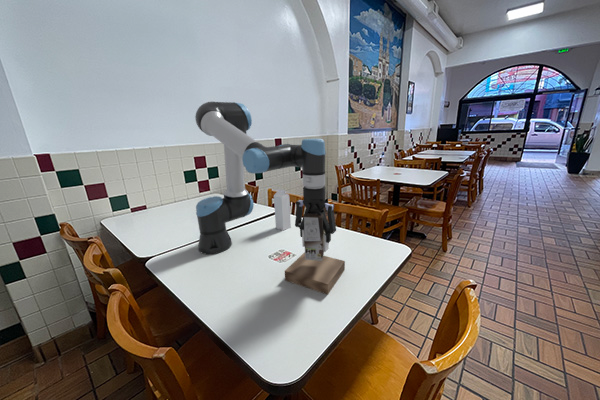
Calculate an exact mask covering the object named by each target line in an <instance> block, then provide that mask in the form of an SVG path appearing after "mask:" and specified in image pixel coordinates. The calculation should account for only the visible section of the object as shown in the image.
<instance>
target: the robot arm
mask: <svg viewBox="0 0 600 400" xmlns="http://www.w3.org/2000/svg"><path fill="white" fill-rule="evenodd" d="M194 118H195V122H196V125H197V127H198V129H199V130H200V131H201V132H203V133H204V134H205V135H207V136H208V137H214V139H216V140H217V141H219V142H220V143H221V144H223V153H224V167H225V170H224V171H225V184H226V185H225V186H226V189H225V191H224V192H223V198H222V197H221V196H215V195H214V196H209V197H206V198H203V199H201V200H200V201H198V202H197V203H196V206H195V209H196V210H195V211H196V212H195V214H196V217H197V218H196V219H197V223H198V230H199V239H198V244H197V248H198V252H200V253H201V252H202V253H201V254H204V253H206V254H205V255H215V254H219V253H222V252H225V251H227V250H228V249H230V248H231V247H232V245H233V242H232V237H231V236H230V233H229V232H228V230H227V226H226V223H229V222H232V221H235V220H239V219H242V218H245V217H247V216H248V215H250V214H251V213H252V212H253V210H254V200H253V196H252V194H250V193H249V191H248V190H247V189H246V185H245V184H246V182H245V170H246V172H248V173H249V174H263V173H266V172H270V171H275V170H281V169H286V168H291V167H293V168H295V167H296V168H301V171H302V186H303V188H302V194H303V195H302V196H303V200H302V199H299V200H297V201H296V202H295V205H296V210H295V211H296V212H295V223H294V226H295V228H299V232H300V233H299V234H300V236H299V237H301V238H302V242H301V243H302V247H303V248H305V239H304V216H305V214H308V213H315V214H317V215H322V214H323V228H324V231H325V233H324V234H323V251H324V253H326V252H327V251H328V250H329V249H330V248H329V243H330V242H331V240H332V235H333V234H335V233H336V232H337V225H336V219H335V212H334V211H335V210H334V209H335V204H334V203H331V204H330V203H327V201H326V154H327V152H326V145H325V144H326V143H325V140H324V139H322V138H304V139H302V140H301V144H290V143H285V144H280V145H275V146H274V145H273V146H265V145H263V144H262V143H260V142H258V141H257V140H255V139H254V138H253V137H251V136H250V135H248V134H247V132H248V130H250V129H251V127H252V124H253V123H252V121H253V120H252V115H251V112H250V110H249V109H248V107H247V106H246V105H245V104H243V103H241V102H234V101H233V102H227V101H225V102H224V101H207V102H204V103H202V104H201V105H200V106H199V107H198V108H197V110H196V112H195V116H194ZM304 207H305V210H304ZM325 208H326V209H325ZM324 209H325V211H324ZM303 210H304V212H303ZM326 211H327V213H326ZM303 213H304V215H303ZM326 214H327V215H326ZM214 253H215V254H214Z"/></svg>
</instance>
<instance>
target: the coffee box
mask: <svg viewBox="0 0 600 400" xmlns="http://www.w3.org/2000/svg"><path fill="white" fill-rule="evenodd" d="M324 211H325V212H326V209H325V208H324ZM304 214H305V213H304ZM303 216H304V215H303ZM324 233H325V231H324V228H323V214H322V215H317V214H315V213H308V214H305V216H304V239H305V247H304V252H305V259H306V260H317V261H322V260H323V256H325V252H324V251H323V234H324Z"/></svg>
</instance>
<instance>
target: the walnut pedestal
mask: <svg viewBox="0 0 600 400" xmlns="http://www.w3.org/2000/svg"><path fill="white" fill-rule="evenodd" d="M345 265H346V261H345V260H342V259H339V258H335V257H334V258H333V257H330V256H327V255H323V260H322V261H317V260H306V259H305V251H304V252H303V253H302V254H301V255H300V256H299V257H297V258H296V260H295V261H294V262H293V263H291V264H290V265H289V266H288V267H287V268H285V270H284V281H286V282H289V283H292V284H295V285H298V286H301V287H304V288H307V289H309V290H313V291H317V292H319V293H322V294H324V295H329V294H330V292H331V291H332V289H333V288H334V286H335V285H336V283H337V282H338V280H340V278H341V276H342V275H343V273H344V272H345V268H346V266H345Z"/></svg>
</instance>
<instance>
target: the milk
mask: <svg viewBox="0 0 600 400" xmlns="http://www.w3.org/2000/svg"><path fill="white" fill-rule="evenodd" d="M273 203H274V217H275V218H274V219H275V221H274V223H275V229H278V230H280V231H283V232H284V231H286V230H288V229H290V228H292V223H291V206H290V205H291V204H290V203H291V202H290V194H288V193H287V192H286V190H285V189H280V188H277V191H276V192H275V193H274V195H273Z"/></svg>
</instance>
